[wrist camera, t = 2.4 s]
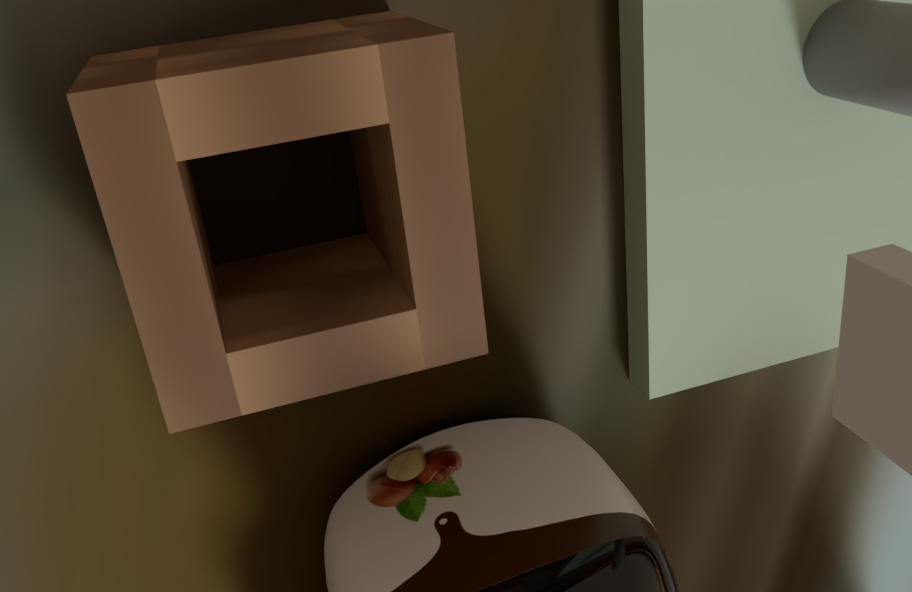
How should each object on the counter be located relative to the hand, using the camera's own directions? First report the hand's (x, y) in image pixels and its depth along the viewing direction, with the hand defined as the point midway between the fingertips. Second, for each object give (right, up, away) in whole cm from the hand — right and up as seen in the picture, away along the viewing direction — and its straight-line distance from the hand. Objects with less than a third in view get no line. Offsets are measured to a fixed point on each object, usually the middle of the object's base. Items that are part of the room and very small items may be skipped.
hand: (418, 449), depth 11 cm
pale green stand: (+12, +10, +17) cm, 23 cm away
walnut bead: (-5, +6, +13) cm, 15 cm away
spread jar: (0, -7, +21) cm, 22 cm away
